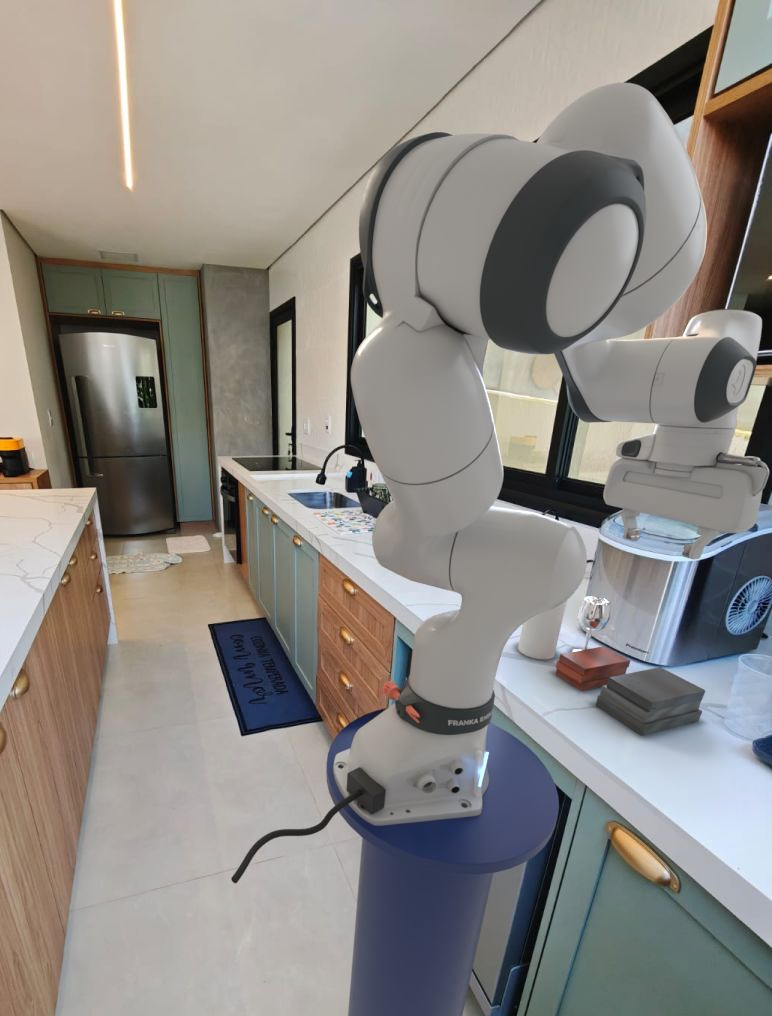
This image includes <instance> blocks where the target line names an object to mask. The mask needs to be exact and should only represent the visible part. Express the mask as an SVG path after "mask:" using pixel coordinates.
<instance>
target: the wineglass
mask: <svg viewBox="0 0 772 1016" xmlns="http://www.w3.org/2000/svg"><path fill="white" fill-rule="evenodd" d="M611 603H612V602H611V601H610V600H608V599H607V598H603V597H599V596H585V597H584V599H583V601H582V602H581V604H580V607H579V608H578V612H577V622H578V624H579V626H580V627H582V628H583V629H585V630H587V632H586V633H585V637H586V639H585V644H584V647H583V648H574V649H572V651H571V652H574V651H580V650H586V649H588V645H589V642H590V639H591V638H592V636H593V632H598V631H602V630H604V629H605V628H606V627H607V626H608V625H609V623H610V620H611V615H612V614H611V613H612V607H611V606H612V604H611Z"/></svg>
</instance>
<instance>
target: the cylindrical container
mask: <svg viewBox="0 0 772 1016" xmlns="http://www.w3.org/2000/svg"><path fill="white" fill-rule="evenodd" d="M567 602H568V600H566V601H565V602H564V603H562V604H561V605H559V606H557V607H555V608H553V609H551V610H548V611H545V612H542V613H540V614H538V615H535V616H534V617H532V618H530V619H529V620H527V621H526V622H524V623H523V624H522V625H521V629H520V630H521V631H520V636H519V642H518V646H517V650H518V651H519V652H520V653H521V654H522V655H524V656H526V657H529V658H532V659H536V660H550V659H553V658H554V657H555V654H556V650H557V645H558V641H559V637H560V634H561V633H560V632H561V628H562V624H563V620H564V616H565V611H566V606H567Z"/></svg>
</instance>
